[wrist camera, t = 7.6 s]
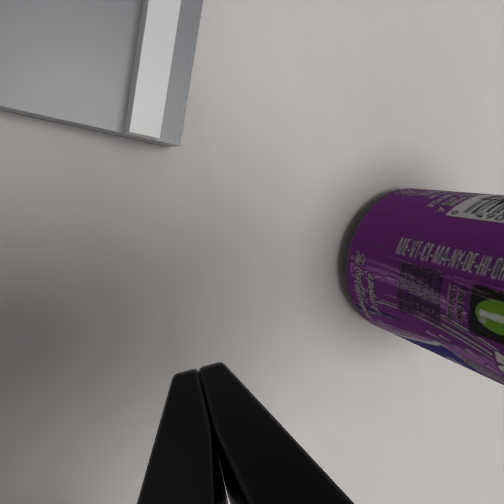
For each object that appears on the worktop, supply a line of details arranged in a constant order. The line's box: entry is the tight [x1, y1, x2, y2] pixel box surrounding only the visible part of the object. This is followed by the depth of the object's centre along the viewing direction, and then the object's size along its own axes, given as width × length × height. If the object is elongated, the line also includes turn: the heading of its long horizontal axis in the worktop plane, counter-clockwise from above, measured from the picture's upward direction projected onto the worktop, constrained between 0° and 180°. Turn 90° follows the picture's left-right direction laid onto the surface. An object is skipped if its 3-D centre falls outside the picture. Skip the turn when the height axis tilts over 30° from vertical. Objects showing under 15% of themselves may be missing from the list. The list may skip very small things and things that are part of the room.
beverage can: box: [346, 189, 504, 385], centre depth 19 cm, size 7×7×12 cm
